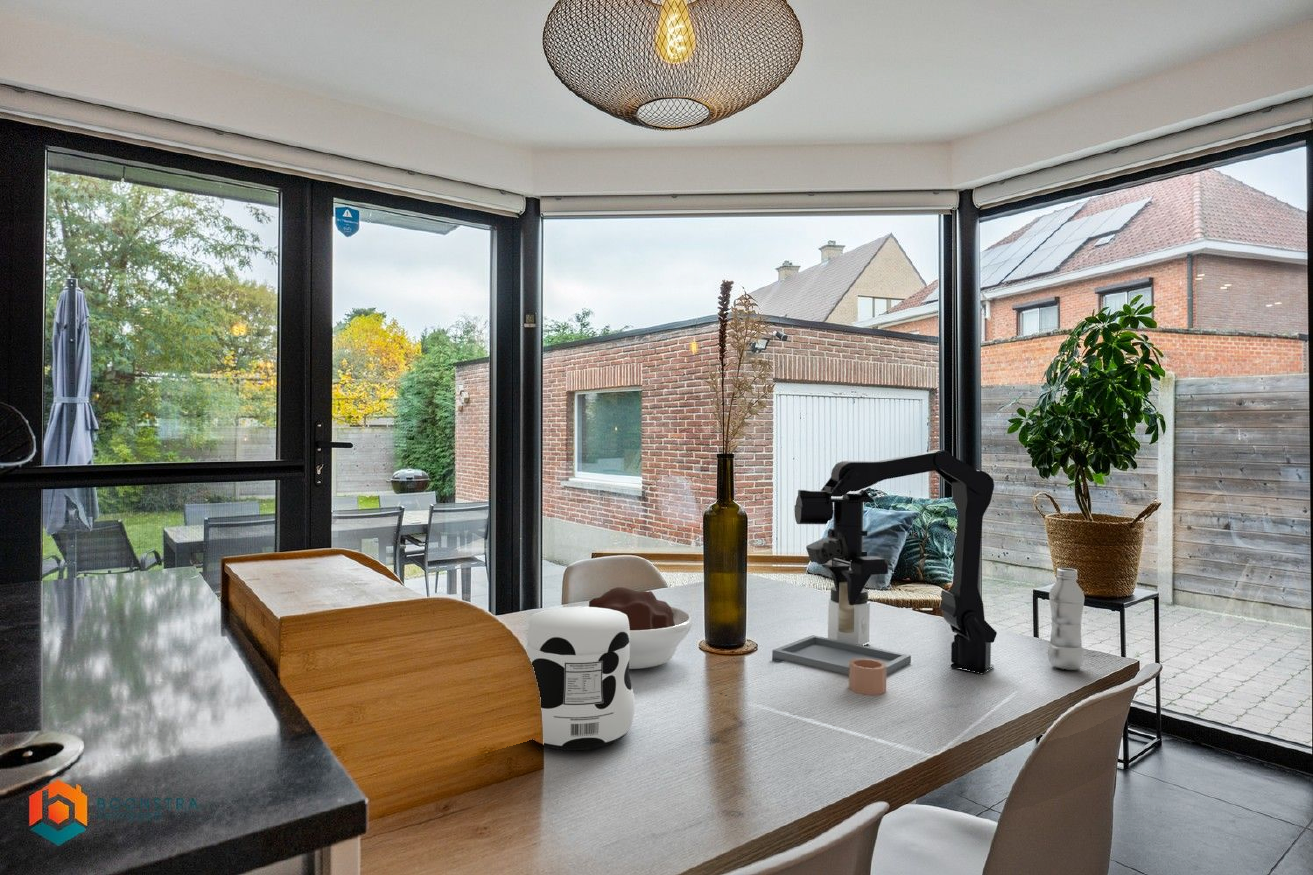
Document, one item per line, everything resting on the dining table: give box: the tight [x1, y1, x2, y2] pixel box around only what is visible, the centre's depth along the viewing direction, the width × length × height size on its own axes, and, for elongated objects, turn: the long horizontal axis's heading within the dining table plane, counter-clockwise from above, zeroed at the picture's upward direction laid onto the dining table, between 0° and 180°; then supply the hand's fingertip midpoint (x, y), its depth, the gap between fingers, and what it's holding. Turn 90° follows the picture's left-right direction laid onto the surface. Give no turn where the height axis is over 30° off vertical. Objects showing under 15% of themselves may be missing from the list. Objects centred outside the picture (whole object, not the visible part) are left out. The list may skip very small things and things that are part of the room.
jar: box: [827, 586, 871, 645], centre depth 172 cm, size 9×8×12 cm
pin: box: [839, 582, 855, 633], centre depth 153 cm, size 3×3×10 cm
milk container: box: [525, 606, 636, 751], centre depth 117 cm, size 17×17×18 cm
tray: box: [771, 634, 912, 677], centre depth 157 cm, size 22×16×2 cm
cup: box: [848, 658, 887, 696], centre depth 139 cm, size 6×6×5 cm
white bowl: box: [584, 586, 693, 670], centre depth 155 cm, size 25×25×15 cm
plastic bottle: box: [1047, 567, 1086, 671], centre depth 155 cm, size 6×7×20 cm
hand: (846, 603), depth 153 cm, fingers closed on pin, 3 cm apart
